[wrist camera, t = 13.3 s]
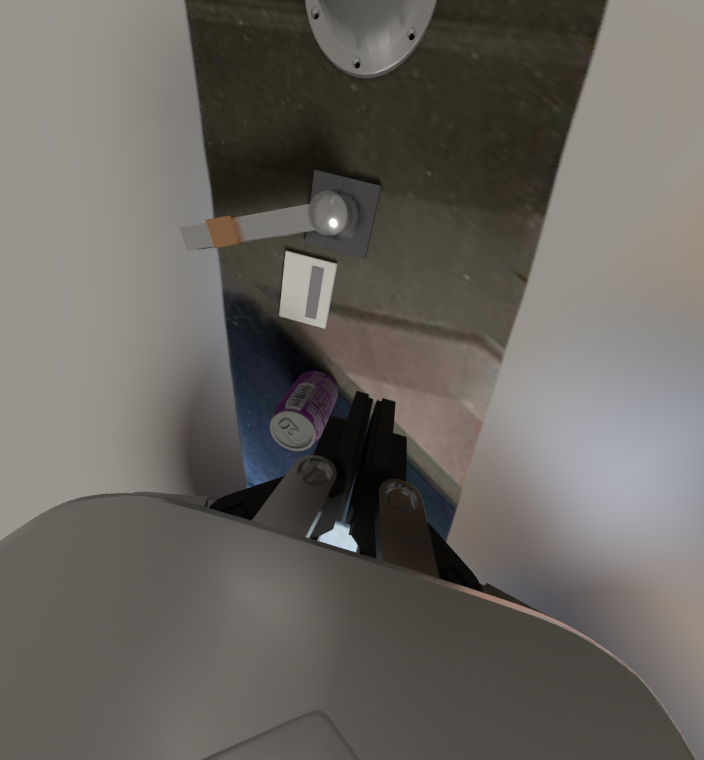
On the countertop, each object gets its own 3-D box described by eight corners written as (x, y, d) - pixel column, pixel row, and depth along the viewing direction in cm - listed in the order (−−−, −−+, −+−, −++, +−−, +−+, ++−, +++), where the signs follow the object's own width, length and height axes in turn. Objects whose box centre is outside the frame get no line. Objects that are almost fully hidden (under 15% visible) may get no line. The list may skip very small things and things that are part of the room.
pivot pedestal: (316, 170, 35) (307, 165, 32) (381, 186, 35) (378, 182, 32) (306, 243, 39) (297, 244, 36) (365, 258, 39) (361, 260, 36)
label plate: (287, 250, 40) (285, 251, 39) (337, 263, 40) (336, 264, 39) (280, 315, 44) (278, 316, 44) (325, 327, 44) (324, 328, 43)
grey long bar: (349, 191, 32) (342, 186, 29) (354, 232, 34) (348, 232, 31) (194, 220, 36) (172, 219, 33) (205, 255, 38) (185, 258, 35)
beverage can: (288, 386, 50) (255, 428, 39) (315, 359, 47) (288, 398, 36) (319, 414, 51) (296, 462, 41) (348, 390, 48) (330, 435, 38)
